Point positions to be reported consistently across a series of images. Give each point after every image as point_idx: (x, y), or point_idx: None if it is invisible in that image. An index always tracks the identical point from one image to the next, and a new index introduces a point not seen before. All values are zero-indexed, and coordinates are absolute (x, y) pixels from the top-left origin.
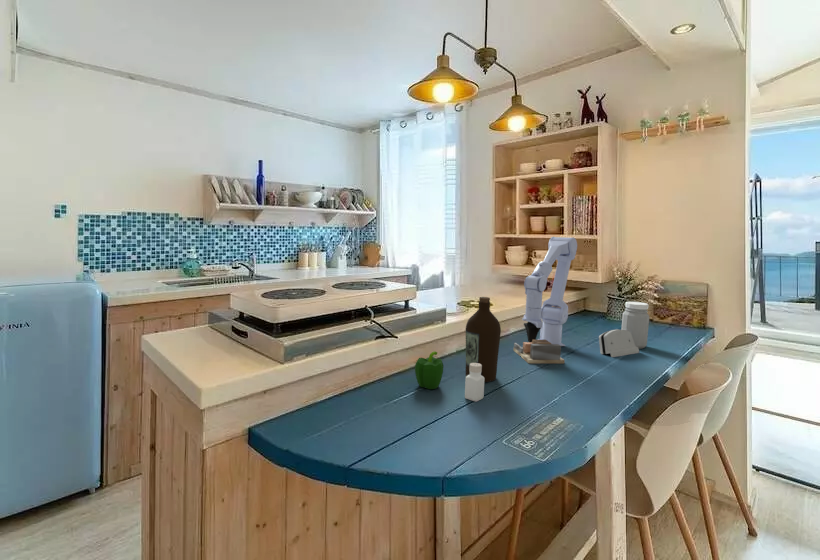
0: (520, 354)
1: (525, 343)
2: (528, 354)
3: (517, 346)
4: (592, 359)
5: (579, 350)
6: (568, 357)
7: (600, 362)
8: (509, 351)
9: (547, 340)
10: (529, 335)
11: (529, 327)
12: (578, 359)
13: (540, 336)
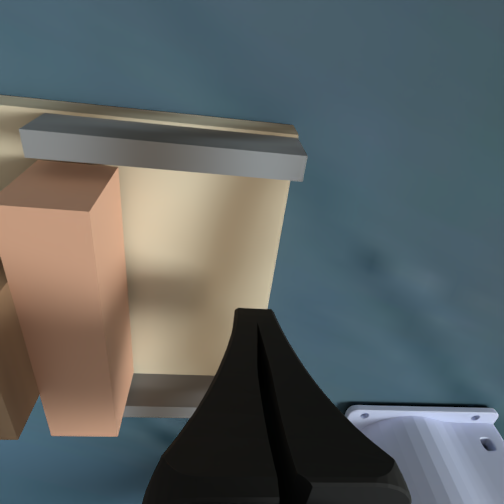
0: (52, 105)
1: (17, 214)
2: (14, 179)
3: (171, 139)
4: (71, 490)
5: None
6: None
7: (20, 498)
8: (262, 58)
9: (382, 445)
10: (221, 364)
11: (156, 474)
12: (58, 446)
13: (495, 443)
